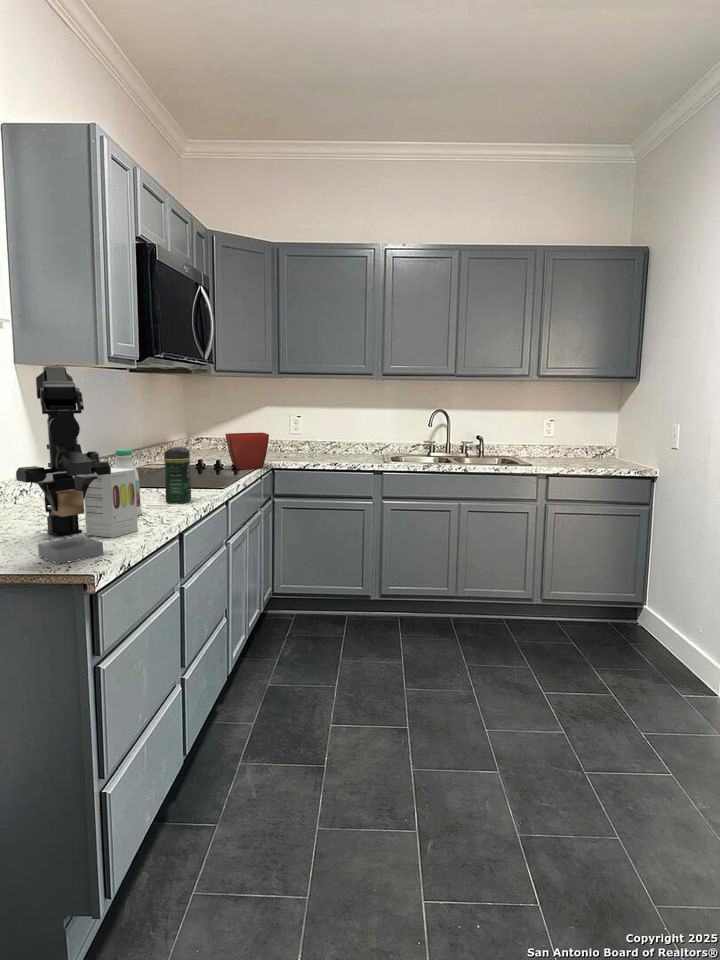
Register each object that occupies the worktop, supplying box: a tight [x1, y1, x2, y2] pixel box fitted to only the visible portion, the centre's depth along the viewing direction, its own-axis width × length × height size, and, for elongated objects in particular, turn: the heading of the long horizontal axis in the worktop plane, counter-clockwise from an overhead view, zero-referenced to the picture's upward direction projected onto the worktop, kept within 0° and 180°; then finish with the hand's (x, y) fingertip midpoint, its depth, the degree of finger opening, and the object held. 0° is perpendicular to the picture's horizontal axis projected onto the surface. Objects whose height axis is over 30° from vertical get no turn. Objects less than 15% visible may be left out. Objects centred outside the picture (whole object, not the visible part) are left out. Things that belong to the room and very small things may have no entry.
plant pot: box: [225, 432, 270, 470], centre depth 306 cm, size 19×19×17 cm
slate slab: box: [37, 535, 104, 564], centre depth 141 cm, size 10×10×3 cm
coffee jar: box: [163, 446, 192, 504], centre depth 211 cm, size 10×8×19 cm
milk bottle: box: [114, 448, 142, 517], centre depth 187 cm, size 8×8×20 cm
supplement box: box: [84, 467, 139, 539], centre depth 164 cm, size 10×9×17 cm
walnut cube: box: [50, 489, 85, 517], centre depth 140 cm, size 5×5×5 cm
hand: (67, 509), depth 140 cm, fingers closed on walnut cube, 5 cm apart
